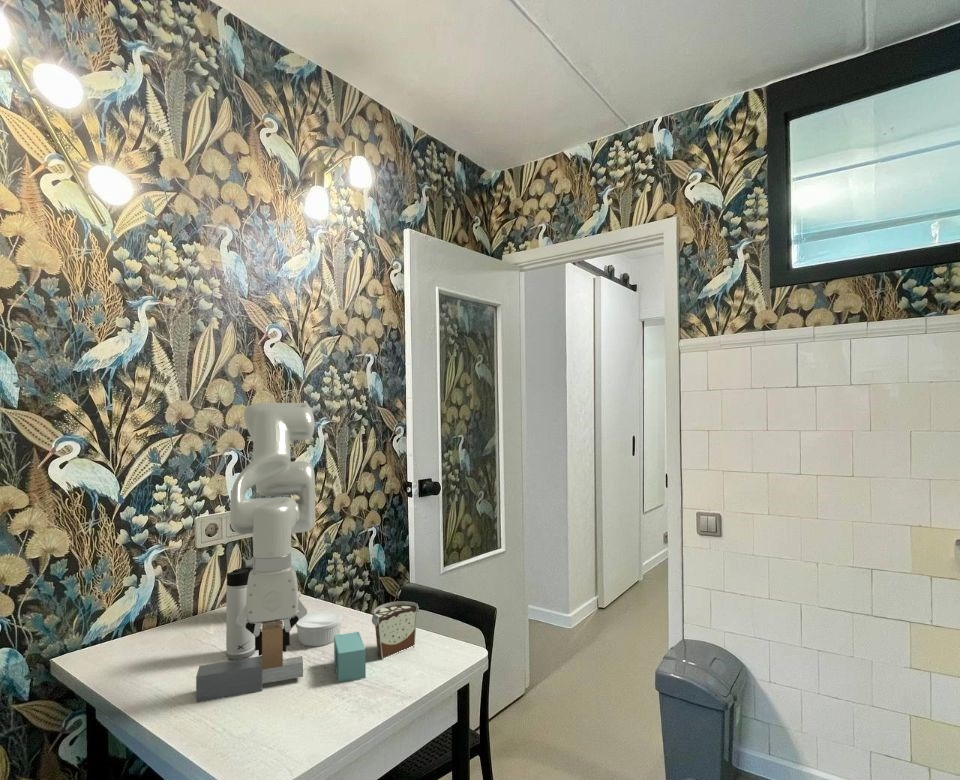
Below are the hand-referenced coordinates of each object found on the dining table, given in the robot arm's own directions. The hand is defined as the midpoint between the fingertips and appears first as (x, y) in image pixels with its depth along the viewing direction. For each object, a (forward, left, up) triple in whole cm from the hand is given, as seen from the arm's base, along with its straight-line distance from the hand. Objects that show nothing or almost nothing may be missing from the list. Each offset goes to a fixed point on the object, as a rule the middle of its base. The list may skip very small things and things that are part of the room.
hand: (272, 650), depth 115 cm
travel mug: (-8, -17, -7) cm, 20 cm away
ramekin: (-22, -6, -7) cm, 24 cm away
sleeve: (+6, -6, -7) cm, 10 cm away
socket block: (-11, +11, -7) cm, 17 cm away
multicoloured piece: (+2, -2, -6) cm, 7 cm away
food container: (-24, +14, -7) cm, 28 cm away
